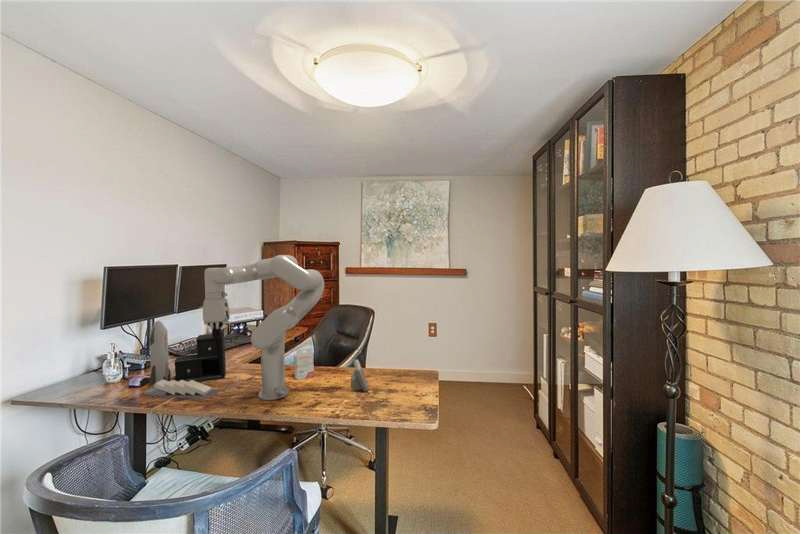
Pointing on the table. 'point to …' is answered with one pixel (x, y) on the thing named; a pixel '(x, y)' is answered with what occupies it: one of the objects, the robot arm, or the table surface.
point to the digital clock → (358, 378)
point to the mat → (191, 395)
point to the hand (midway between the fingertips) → (216, 337)
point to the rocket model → (159, 354)
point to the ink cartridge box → (304, 363)
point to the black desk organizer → (203, 361)
